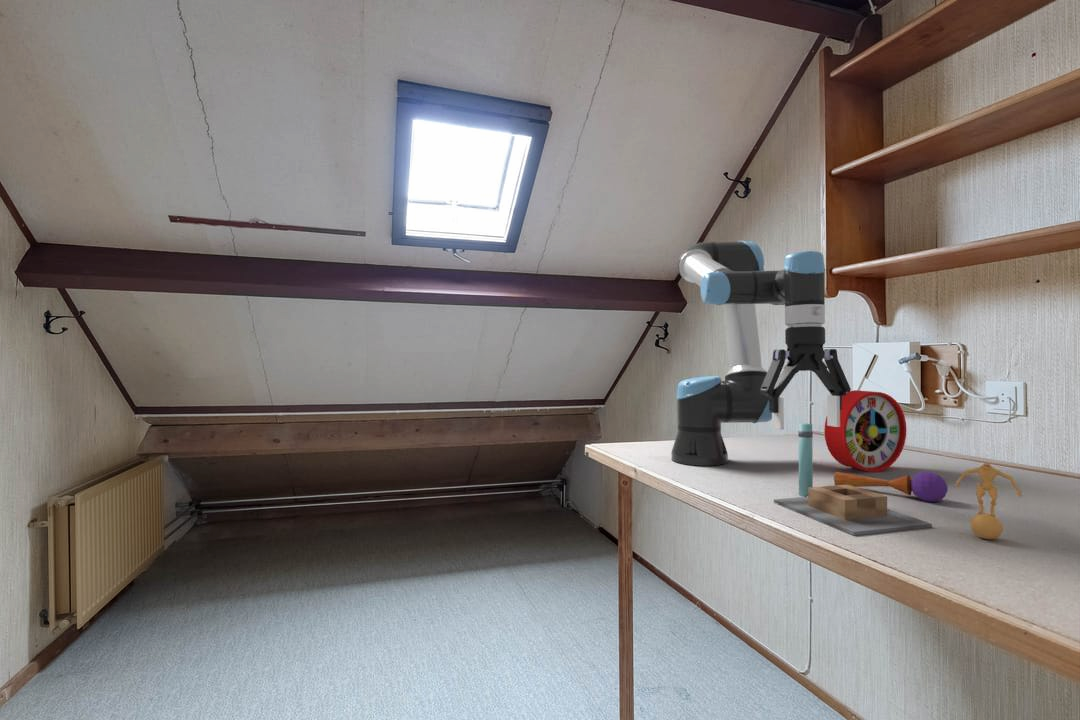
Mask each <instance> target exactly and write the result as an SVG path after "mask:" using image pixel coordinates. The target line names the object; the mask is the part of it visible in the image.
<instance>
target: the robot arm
mask: <svg viewBox="0 0 1080 720" xmlns="http://www.w3.org/2000/svg"><path fill="white" fill-rule="evenodd" d="M762 251H763V250H762V249H761V247H760V246H759V245H758V243H756V242H754V241H746V240H737V241H703V242H698V243H695V244H693V245H691V246H689V247H687V248H686V249H685V250H683V252H682V253H681V254H680V255H679V258H678V259H677V265H676V266H677V271H678V273H679V275H680V276H681V278H682V279H684V280H685V281H686V282H688V283H693V284H696V285H697V286H699V287H700V297H701V300H702V302H703V303H704V304H706V305H714V306H715V305H716V306H723V313H724V321H725V322H724V323H725V333H726V345H727V355H728V366H729V370H728V372H727V373H726V374H725V375H724V380H722V378H721V376H720V375H708V376H700V377H699V376H698V377H692V378H691V377H690V378H688V379H683V380H681V381H680V382H679V383H678V385H677V391H676V393H677V394H676V400H677V401H676V405H677V406H676V407H677V434H676V437H675V440H674V443H673V446H672V449H671V460H672V461H673V462H675V463H677V464H683V465H684V464H685V465H689V466H690V465H692V466H719V465H725V464H727V463H728V462H729V459H728V458H729V454H728V450H727V448H726V445H725V442H724V439H723V436H722V423H723V424H724V423H726V424H727V423H729V424H730V423H731V424H732V423H734V424H735V423H737V424H738V423H744V424H745V423H752V424H757V423H768V422H770V421H771V428H772V429H775V430H783V431H784V430H785V412H784V410H785V408H784V400H785V399H784V397H780V396H781V395H782V394H783V392H784V391H785V389H786V388H787V387H788V385H789V384H790V382H791V381H792V380H793V378H794V376H795V375H796V374H797V373H799V372H806V371H808V372H809V371H811V372H812V373H814V374H815V375H816V376H817V377H818V379H819V380H820V381H821V383H822V384H823V386H824V387H825V388H826V390H827V391H828V393H830V394H827V395H826V412H827V413H826V417H827V426H834V427H840V410H841V409H842V396H845V395H846V392H850V391H852V389H851V385H850V384H849V382H848V380H847V377H846V375H845V372H844V370H843V368H842V366H841V363H840V361H839V359H838V350H837V348H830V349H829V348H826V349H824V345H825V343H826V328H825V327H824V326H823V325H824V324H825V323H826V304H825V302H826V301H825V300H826V299H825V298H826V297H825V293H826V292H825V289H826V288H825V283H826V282H825V279H826V275H825V274H826V267H825V259H824V258H825V257H824V256H825V255H824V254H823V253H822V252H820V251H815V250H813V251H812V250H810V251H809V250H807V251H806V250H804V251H798V252H792V253H789V254H787V255H786V256H785V258H784V263H783V269H781V270H765V268H764V266H765V260H764V254H763V252H762ZM759 304H760V305H765V304H767V305H768V304H769V305H771V306H784V325H785V326H787V328H786V329H785V330H784V331H785V332H784V334H785V337H784V339H785V342H784V343H785V344H786V346H787V349H774V350H773V351H772V361H771V363H770V364H769V367H768V370H766V369H765V368H763V363H762V354H761V344H760V339H759V327H758V320H757V319H758V318H757V311H756V305H759ZM823 359H824V360H823ZM786 360H787V362H786ZM785 363H786V364H785Z"/></svg>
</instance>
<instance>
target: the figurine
mask: <svg viewBox="0 0 1080 720" xmlns="http://www.w3.org/2000/svg"><path fill="white" fill-rule="evenodd" d="M972 474H978V476H979V478H980V482H981V483H977V484H976V485H975V486H976V498H977V503H978V504H979V506H978V510H979V511H978V513H977V514H976V515H974V516H973V517H972V518H971V519H970V528H971V530H972V532H973V533H974V534H975V535H976V536H978V537H980V538H982V539H984V540H995V539H997V538H998V539H999V537H1000V536H1002V534H1003V532H1004V526H1003V524H1002V521H1000V519H999V518H997V516H996V515H995V506H997V502H996V501H997V499H998V497H999V496H998V491H999V487H998V486H997V485H993V483H994V482H995V479H996V477H997V476H1000V477H1002V478H1004V479H1007V480H1010V481H1009V482H1010V483H1011V484H1012V486H1013V488H1014V489H1015V490H1016V494H1017V496H1018V498H1022V493H1021V490H1020V489H1019V488H1020V487H1019V486H1018V485H1017V484H1016V482H1015V479H1014V478H1013V477H1012V476H1011V475H1009V474H1007V473H1004V472H1003V471H1001V470H999V469H996V468H995V467H994V466H992V465H991V463H990V462H986V461H985V462H984V463H983V464H982V465H981V466H979V467H974V468H972V469H968V470H965V471H963V472H962V473H961V475H960V477H959V478H958V479H957V480H956V482H955V485H954V490H958V487H959V486H960V485H959V484H960V483H961V482H962V481H963V480H964V477H965V476H966V475H972ZM987 491H988V496H990V497H991V501H990V511H989V513H985V512H984V504H983V503H984V501H983V499H982V497H984V496H985V495H986V492H987Z"/></svg>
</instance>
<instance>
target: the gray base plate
mask: <svg viewBox="0 0 1080 720" xmlns="http://www.w3.org/2000/svg"><path fill="white" fill-rule="evenodd" d="M774 502H775V503H774ZM773 503H774V504H776V503H778V504H777V505H779V504H780V505H779V506H781V505H782V507H784V508H786V507H787V508H786V509H788V508H789V509H788V510H791V511H793V512H795V513H799V514H801V515H803V516H805V517H808V518H810V519H812V518H813V519H812V520H814V521H818V522H819V523H822V524H825V525H827V526H829V527H831V528H835V529H837V530H840V531H841V532H843V533H846V534H849V535H851V536H862V535H872V534H880V533H881V534H882V533H891V532H900V531H908V530H916V529H917V530H918V529H928V528H932V527H933V523H931V522H928V521H925V520H922V519H918V518H917V517H913V516H910V515H906V514H903V513H901V512H898V511H895V510H891V509H888V496H887V495H883V494H881V493H877V492H874V491H871V490H867V489H864V488H861V487H854V486H851V485H848V484H847V485H835V484H834V485H824V486H823V485H822V486H814V487H810V488H808V497H806V496H798V497H788V498H785V497H784V498H776V499H775V498H774V499H773Z"/></svg>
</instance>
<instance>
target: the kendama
mask: <svg viewBox="0 0 1080 720" xmlns="http://www.w3.org/2000/svg"><path fill="white" fill-rule="evenodd" d="M833 484H834V485H847V484H848V485H851V486H854V487H858V488H861V487H864V488H865V487H872V488H873V487H890V488H893V489H895V490H897V491H899V492H900V493H901V492H902V493H903V494H905V495H907V496H909V497H910V496H912V494H913V495H914V496H915V497H916V498H917V499H919V500H921V501H924V502H929V503H935V502H939V501H941V500H943V498H946V495H947V493H948V485H947V482H946V481H945V478H943V477H941V475H939V474H937V473H935V472H932V471H920V472H918V473H916V474H915V475H914V476H912V477H911V475H910V474H906V475H904V476H901V477H899V478H898V477H897V478H895V479H891V480H886V479H879V478H875V477H874V478H873V477H868V476H862V475H856V474H853V473H845V472H839V471H835V472H834V475H833Z"/></svg>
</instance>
